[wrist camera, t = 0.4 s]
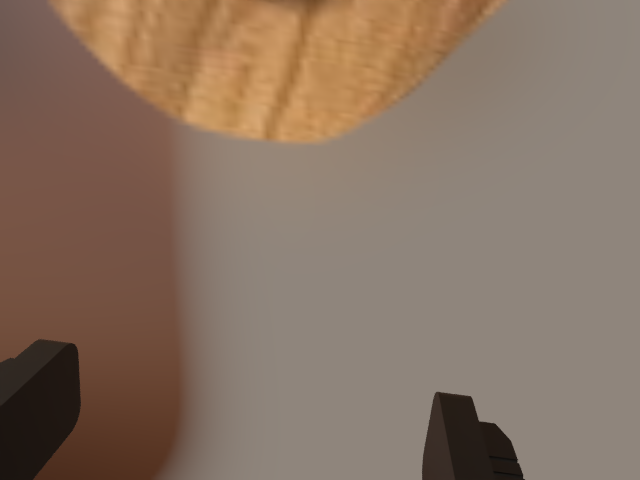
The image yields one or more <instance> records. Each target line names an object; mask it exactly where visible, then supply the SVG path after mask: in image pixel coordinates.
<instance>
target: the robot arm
mask: <svg viewBox="0 0 640 480" xmlns="http://www.w3.org/2000/svg"><path fill="white" fill-rule="evenodd" d="M78 360H79V359H78V350H77V347H76V346H75V344H72V343H66V342H58V341H51V340H42V339H40V340H37V341H35V342H34V343H33V344H31V345H30V346H29V347H28V348H27V349H25V350H24V351H23V352H22V353H21V354H19V355H18V356H17V357H16V358H15V359H14V358H10V359H7V360H5V361H3V362H1V363H0V480H33V479H34V478H35V476H36V475H37V474H38V473H39V471H40V470H41V469H42V468H43V466H44V465H45V464H46V463H47V461H48V460H49V459H50V458H51V457H52V455H53V454H54V453H55V452H56V450H57V449H58V448H59V447H60V446H61V444H62V443H63V442H64V441H65V439H66V438H67V437H68V435H69V434H70V433H71V432H72V430H73V428H74V427H75V425H76V422H77V420H78V417H79V413H80V406H81V400H80V380H79V361H78ZM517 460H518V459H517V457H516V454H515V451H514V448H513V446H512V443H511V441H510V439H509V438H508V437H507V436H506V435H505V434H504V433H503V432H502V431H501V429H500V428H499V427H498V426H497V425H496V424H494V423H487V422H479V420H478V417H477V413H476V410H475V406H474V403H473V400H472V398H471V396H464V395H457V394H448V393H441V392H436V393H435V396H434V399H433V404H432V410H431V415H430V420H429V426H428V432H427V437H426V442H425V448H424V454H423V465H422V480H525V479H523V473H522V471H521V468H520V465H519V463H517Z"/></svg>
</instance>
